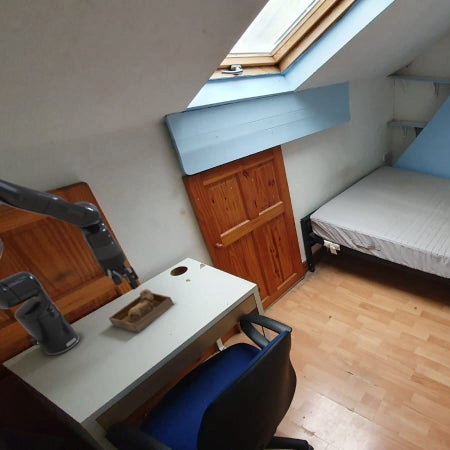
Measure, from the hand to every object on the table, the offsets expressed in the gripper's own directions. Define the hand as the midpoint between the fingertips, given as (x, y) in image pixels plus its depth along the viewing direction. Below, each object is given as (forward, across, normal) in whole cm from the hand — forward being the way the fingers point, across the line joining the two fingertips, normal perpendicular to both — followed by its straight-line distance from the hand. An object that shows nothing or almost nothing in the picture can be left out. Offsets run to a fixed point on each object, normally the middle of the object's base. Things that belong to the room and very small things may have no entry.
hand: (127, 286), depth 121 cm
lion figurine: (+17, +1, -1) cm, 17 cm away
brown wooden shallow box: (+17, +1, -1) cm, 17 cm away
